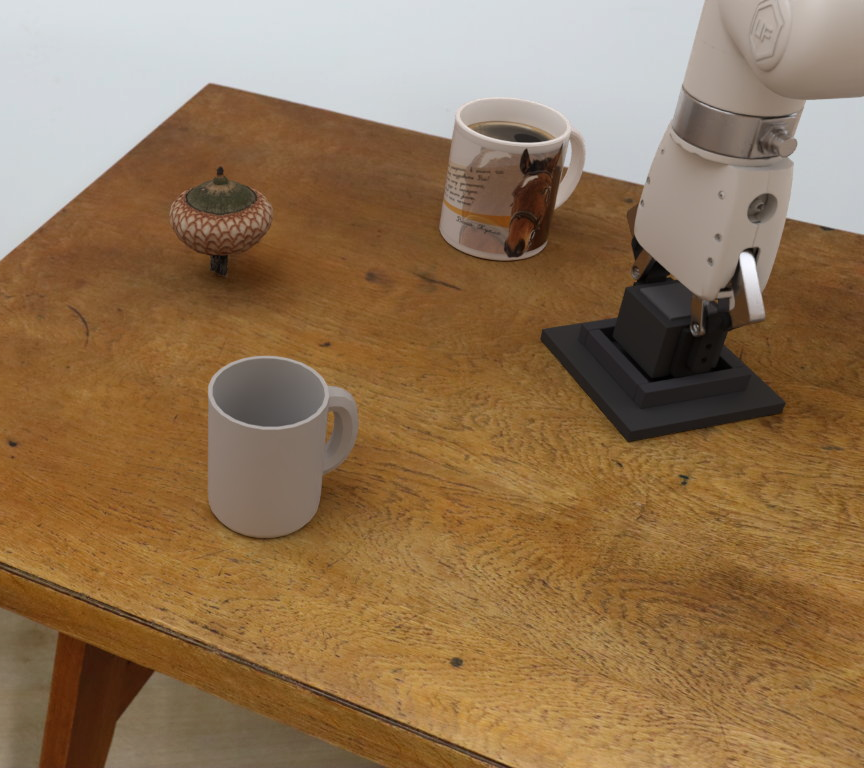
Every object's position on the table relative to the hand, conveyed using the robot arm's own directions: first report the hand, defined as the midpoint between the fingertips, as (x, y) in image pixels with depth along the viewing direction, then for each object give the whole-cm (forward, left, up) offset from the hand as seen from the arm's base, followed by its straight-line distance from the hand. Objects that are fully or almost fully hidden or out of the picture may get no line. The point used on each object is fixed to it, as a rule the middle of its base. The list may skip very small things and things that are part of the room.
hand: (665, 346), depth 83 cm
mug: (+23, +1, -3) cm, 23 cm away
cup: (-5, +31, -3) cm, 32 cm away
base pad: (0, 0, -3) cm, 3 cm away
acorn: (+22, +28, -3) cm, 36 cm away
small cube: (0, 0, 0) cm, 0 cm away
